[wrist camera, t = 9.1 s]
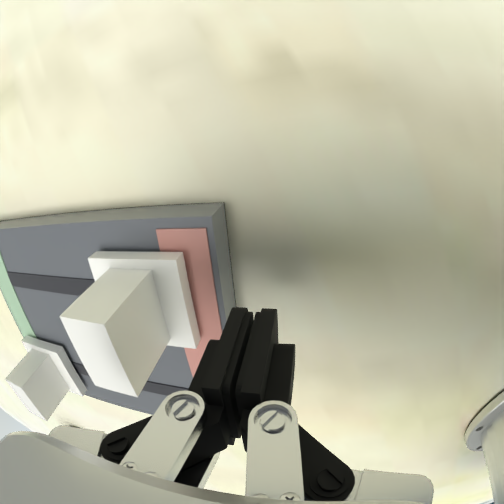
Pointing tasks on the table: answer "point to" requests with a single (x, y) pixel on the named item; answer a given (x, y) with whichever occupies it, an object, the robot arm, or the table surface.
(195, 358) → the slider switch panel
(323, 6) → the table surface
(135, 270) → the breaker
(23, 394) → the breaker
